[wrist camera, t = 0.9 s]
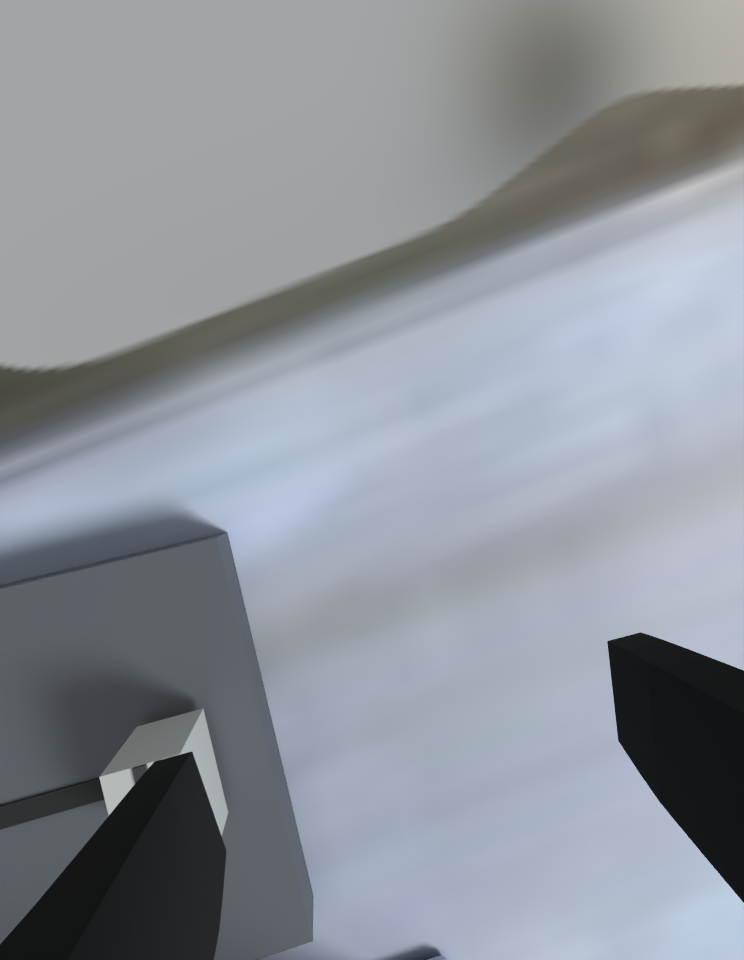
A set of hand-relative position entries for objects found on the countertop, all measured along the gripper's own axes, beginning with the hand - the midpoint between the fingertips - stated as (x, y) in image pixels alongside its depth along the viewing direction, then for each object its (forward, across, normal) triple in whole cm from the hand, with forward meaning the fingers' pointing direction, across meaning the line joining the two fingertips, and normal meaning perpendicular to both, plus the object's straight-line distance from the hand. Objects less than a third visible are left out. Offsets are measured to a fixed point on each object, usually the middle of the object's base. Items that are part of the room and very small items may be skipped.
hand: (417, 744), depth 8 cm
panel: (+11, +13, +7) cm, 19 cm away
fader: (+9, +8, +6) cm, 14 cm away
